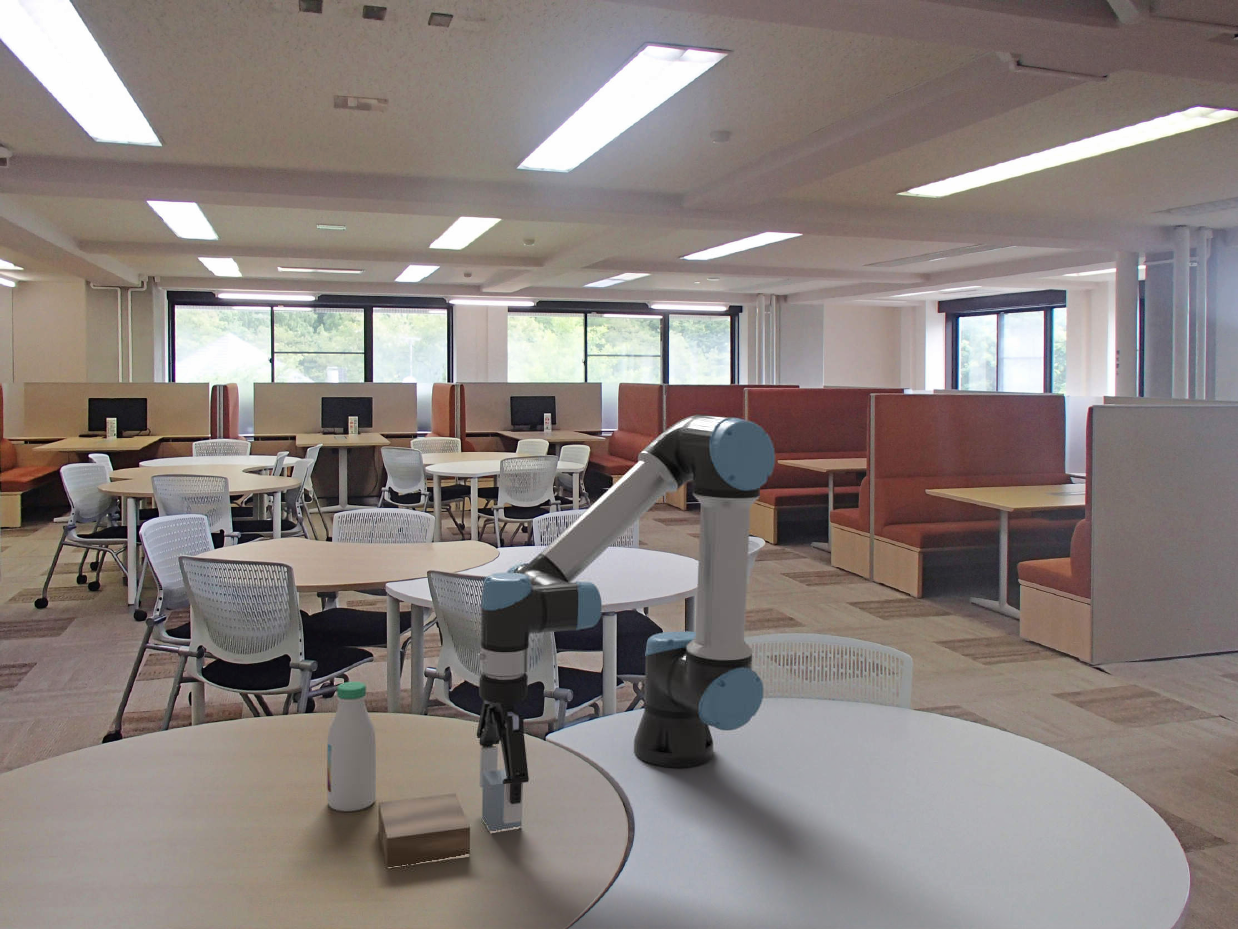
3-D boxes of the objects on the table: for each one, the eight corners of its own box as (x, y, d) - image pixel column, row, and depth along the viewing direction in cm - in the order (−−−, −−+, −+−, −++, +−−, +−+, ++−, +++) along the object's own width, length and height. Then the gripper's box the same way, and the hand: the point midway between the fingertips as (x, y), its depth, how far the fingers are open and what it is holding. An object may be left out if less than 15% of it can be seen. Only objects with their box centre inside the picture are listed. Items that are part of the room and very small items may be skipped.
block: (482, 820, 158) (482, 772, 157) (512, 815, 160) (512, 768, 159) (490, 834, 153) (491, 785, 153) (521, 829, 155) (522, 780, 155)
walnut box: (378, 833, 153) (378, 802, 153) (455, 823, 157) (455, 793, 157) (387, 871, 142) (387, 838, 142) (469, 859, 146) (470, 827, 146)
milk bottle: (385, 798, 165) (385, 682, 163) (354, 817, 158) (354, 696, 156) (348, 788, 168) (348, 675, 166) (317, 806, 161) (316, 688, 159)
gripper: (460, 652, 164) (457, 775, 166) (503, 700, 141) (499, 842, 143) (503, 648, 167) (500, 769, 169) (553, 695, 144) (548, 834, 146)
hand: (499, 803), depth 156 cm, fingers open, 13 cm apart
